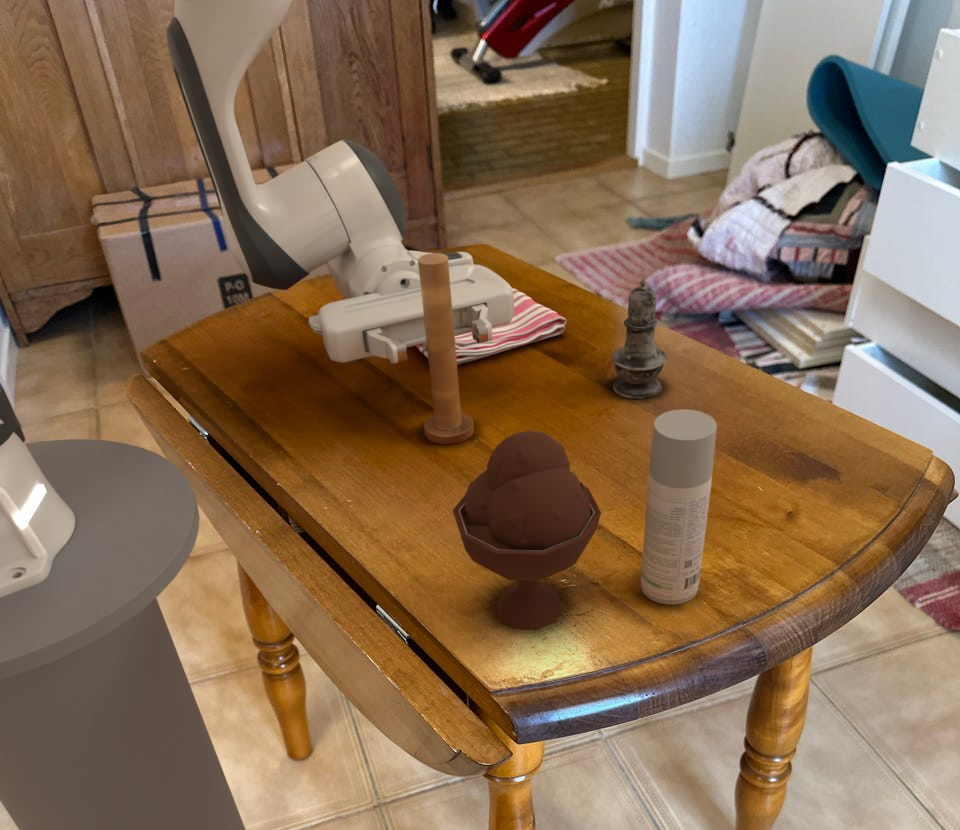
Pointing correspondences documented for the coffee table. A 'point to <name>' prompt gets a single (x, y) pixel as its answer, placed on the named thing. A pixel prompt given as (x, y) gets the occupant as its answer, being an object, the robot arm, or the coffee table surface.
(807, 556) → the coffee table surface
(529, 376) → the coffee table surface
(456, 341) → the dish towel
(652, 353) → the salt shaker
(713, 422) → the container
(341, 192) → the robot arm
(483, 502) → the ice cream bowl
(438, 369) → the stirring stick
